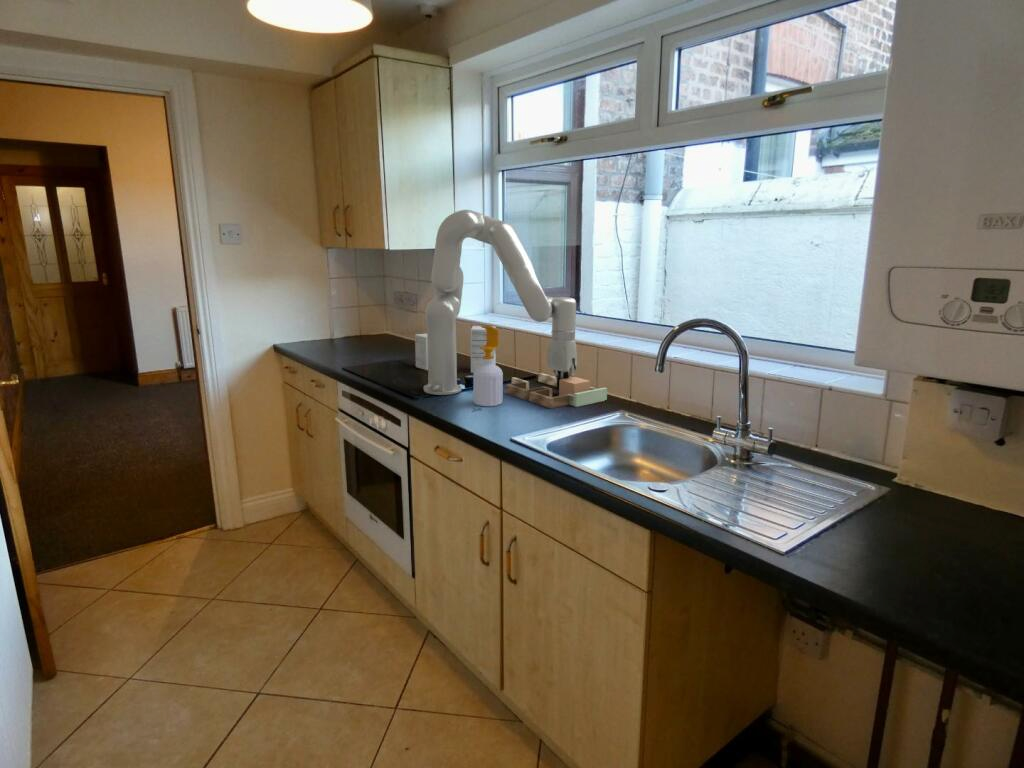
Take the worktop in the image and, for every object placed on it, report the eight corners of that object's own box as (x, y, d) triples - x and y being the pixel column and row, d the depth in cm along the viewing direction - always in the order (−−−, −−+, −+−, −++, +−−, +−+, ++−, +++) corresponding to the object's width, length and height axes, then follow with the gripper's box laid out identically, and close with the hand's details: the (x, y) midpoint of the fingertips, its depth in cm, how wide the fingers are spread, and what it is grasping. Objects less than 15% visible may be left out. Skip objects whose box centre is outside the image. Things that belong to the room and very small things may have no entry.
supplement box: (494, 373, 237) (494, 329, 233) (470, 373, 237) (470, 329, 233) (495, 368, 246) (496, 325, 242) (472, 368, 246) (472, 325, 242)
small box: (440, 368, 245) (439, 335, 241) (426, 370, 241) (425, 337, 238) (429, 365, 251) (428, 332, 248) (415, 367, 247) (414, 334, 244)
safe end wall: (573, 406, 194) (574, 393, 193) (603, 399, 202) (604, 387, 201) (576, 406, 193) (576, 394, 192) (606, 400, 201) (607, 388, 200)
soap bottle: (468, 404, 195) (467, 325, 189) (483, 397, 202) (483, 322, 197) (493, 408, 191) (493, 328, 185) (507, 401, 198) (508, 324, 193)
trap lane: (493, 389, 214) (494, 380, 213) (540, 380, 226) (541, 372, 226) (555, 410, 190) (555, 400, 189) (603, 399, 202) (604, 390, 202)
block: (558, 397, 204) (559, 379, 202) (574, 394, 208) (575, 376, 207) (573, 402, 199) (574, 383, 197) (589, 398, 203) (590, 380, 201)
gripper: (539, 333, 207) (538, 387, 211) (570, 339, 196) (568, 396, 200) (556, 331, 212) (554, 384, 216) (587, 337, 200) (585, 393, 205)
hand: (561, 390), depth 208 cm, fingers closed
